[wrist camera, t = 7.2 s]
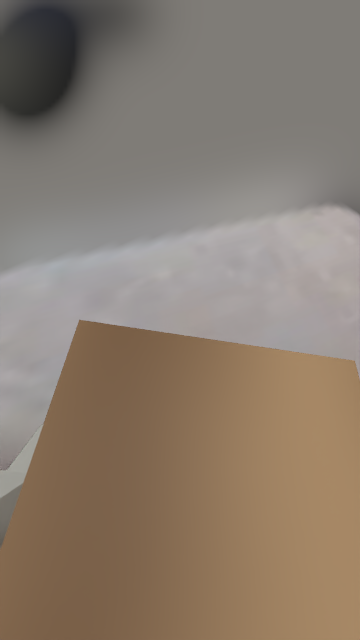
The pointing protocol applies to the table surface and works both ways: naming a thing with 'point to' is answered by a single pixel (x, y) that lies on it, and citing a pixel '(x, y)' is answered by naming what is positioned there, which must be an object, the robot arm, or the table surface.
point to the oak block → (188, 496)
